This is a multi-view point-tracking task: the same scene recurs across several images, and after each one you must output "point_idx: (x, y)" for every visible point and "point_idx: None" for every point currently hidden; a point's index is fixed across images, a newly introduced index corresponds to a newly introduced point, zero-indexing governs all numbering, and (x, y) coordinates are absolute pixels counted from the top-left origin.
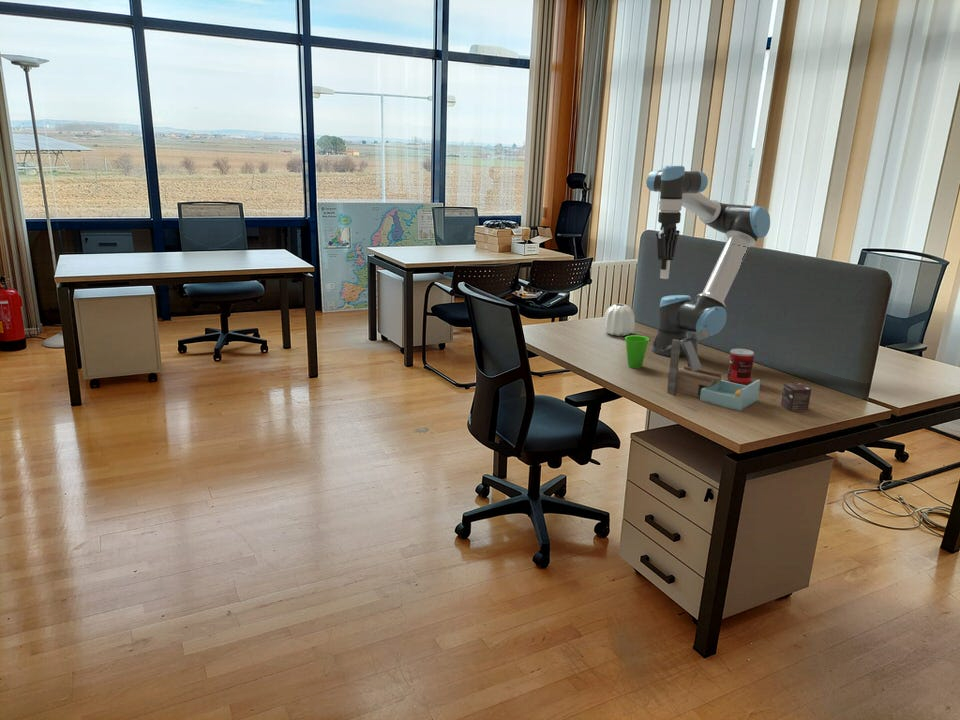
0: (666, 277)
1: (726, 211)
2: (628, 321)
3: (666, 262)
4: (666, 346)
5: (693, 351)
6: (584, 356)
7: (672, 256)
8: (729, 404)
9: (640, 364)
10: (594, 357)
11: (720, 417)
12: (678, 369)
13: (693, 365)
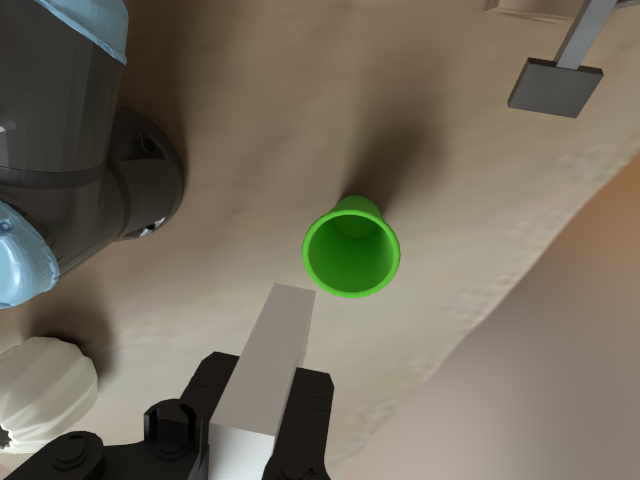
0: (311, 302)
1: None
2: (41, 366)
3: (279, 434)
4: (558, 68)
5: None
6: (345, 368)
7: (101, 457)
8: None
9: (366, 198)
10: (338, 343)
11: None
12: (530, 1)
13: None
